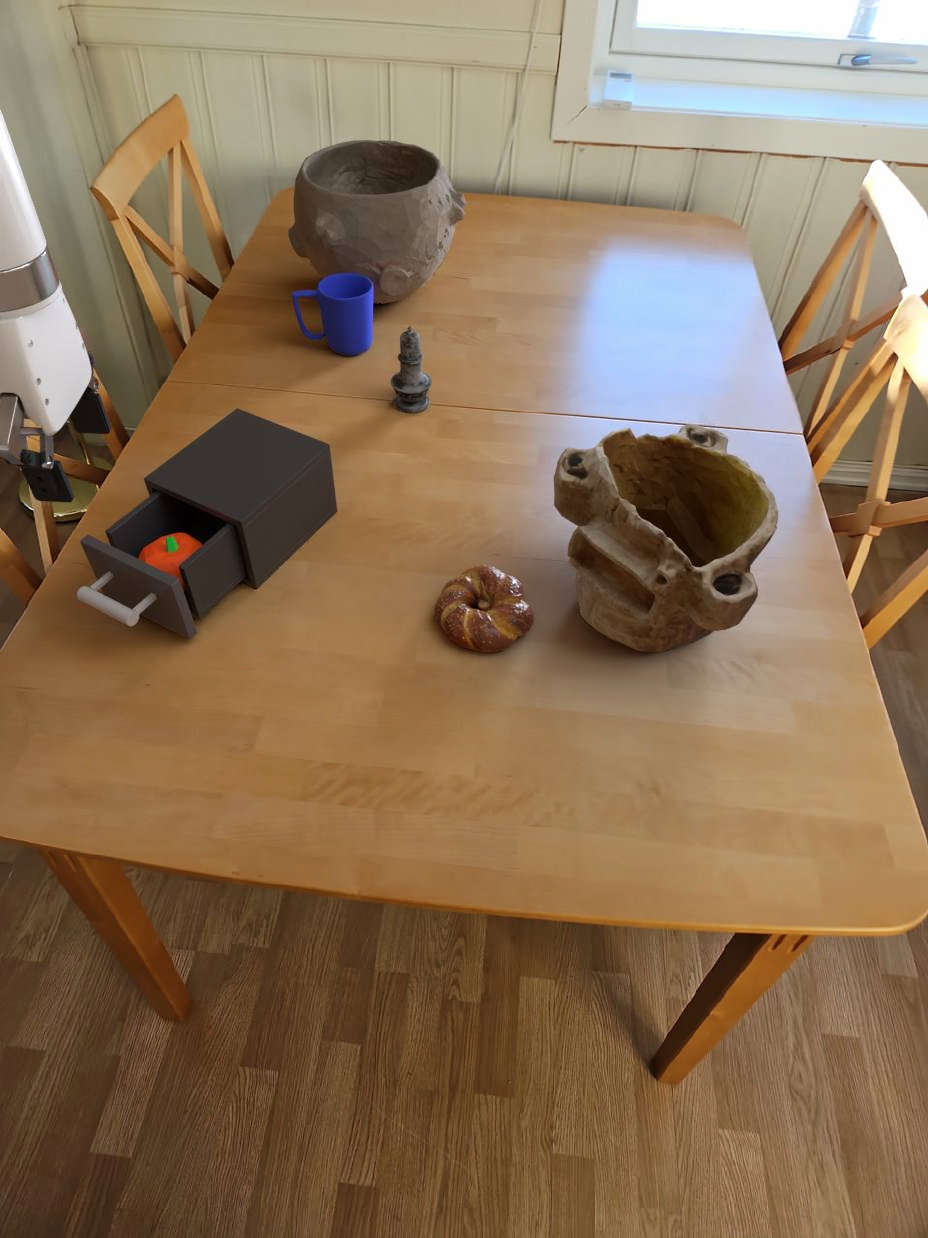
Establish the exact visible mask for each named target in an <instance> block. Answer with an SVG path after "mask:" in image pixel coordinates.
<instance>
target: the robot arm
mask: <svg viewBox="0 0 928 1238" xmlns="http://www.w3.org/2000/svg"><path fill="white" fill-rule="evenodd" d="M29 190H30V189H29V187H28V185H27V181H26V179H25V176H24V173H23V170H22V167H21V163H20V161H19V158H18V156H17V153H16V149H15V147H14V143H13V141H12V138H11V135H10V132H9V129H8V126H7V124H6V121H5V117H4V114H3V112H2V110H1V108H0V457H1V458H2V459H4V460H5V463H6V464H7V465H10V466H14V467H15V468H17V469H18V468H20V469H21V472H22V474H23V476H24V478H25V481H26V483H27V485H28V487H29V489H30V491H31V493H32V495H33V498H34V499H35V500H36V501H38V502H51V503H72V502H73V500H74V499H75V493H74V491H73V489H72V487H71V484H70V482H69V479H68V476H67V475H66V472H65V469H64V467H63V465H62V462H61V461H60V460H57V459H55V443H54V442H55V441H54V440H55V439H54V435H56V434H57V433H58V432H59V431H60V430H61V429H62V428H63V426H64V425H65V424H66V422H67V420H68V419H69V418H70V420H71V422H72V425H73V427H74V428H73V429H74V430H75V432H76V433H79V434H92V435H93V434H95V435H109V434H110V433H111V431H112V425H111V423H110V420H109V417H108V414H107V411H106V408H105V405H104V402H103V400H102V396H101V393H99V391H100V382H99V379H98V378H97V377H95V376H94V372H95V371H94V369H95V366H94V365H95V364H96V363H95V362H96V361H95V360H94V359H95V357H94V356H93V354H92V353H90V352H91V345H90V336H89V335H90V334H89V331H88V329H87V328H85V327H79V326H78V323H77V321H76V319H75V316H74V314H73V311H72V309H71V306H70V305H69V302H68V300H67V298H66V296H65V294H64V292H63V287H62V283H61V280H60V277H59V275H58V271H57V269H56V266H55V263H54V260H53V258H52V254H51V250H50V249H49V245H48V243H47V239H46V237H45V234H44V231H43V227H42V225H41V222H40V219H39V217H38V214H37V210H36V207H35V205H34V202H33V198H32V196H31V194H30V191H29ZM25 420H31V421H32V422H33V423H34V424H35V427H34V426H25ZM27 436H29V437H31V436H32V437H39V451H36V450H32V449H27V447H28V446H27Z"/></svg>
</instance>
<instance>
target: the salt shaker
mask: <svg viewBox="0 0 928 1238" xmlns="http://www.w3.org/2000/svg"><path fill="white" fill-rule="evenodd" d="M421 345H422V344H421V335H420V333H418V332H417V331H415V330H413V327H412V326H411V325H409V326H408V327H407V330H405V331H403V332H402V333H401V334H400V336H399V351H400V352H399V353H398V355H397V360H398V361H399V366H400V367H399V368H400V369H399V371H398V372H396V373H394V374H393V375H392V377H390V385H391V387H392V389H393V391H394V393H395V395H396V396H395V397H394V398H393V405H394V406H393V407H394V408H396V410H398V411H400V412H402V413H406V414H418V413H422V412H424V411H425V410H427V409H428V408H429V407H430V405H431V400H430V398H429V396H427V395H428V394H429V391H430V388H431V386H432V384H433V379H432V377H431V376H430V375H429V374H428V373H426V372H425V371H423V370H422V361H423V360H424V354H423V353H422V352H421V351H422V349H421V347H422V346H421Z"/></svg>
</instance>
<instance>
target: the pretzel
mask: <svg viewBox="0 0 928 1238" xmlns="http://www.w3.org/2000/svg"><path fill="white" fill-rule="evenodd" d="M524 595H525V593H524V587H523V585H522V583H521V581H520V580H518V579H517V578H516V577H515V576H512V575H510V574H507V573H504V572H502V571H501V570H500V569H498V568H496V567H494V566H492V565H487V564H479V565H474V566H471V567H469V568H467V569H466V570H465V571H463V572H462V573H460V575H458V576H456V577H454V578H452V579H451V580H449V581H448V582H446V583H445V585H444V586H443V589H442V590H441V592H440V597H438V599H437V600H436V602H435V605H434V617H435V618H436V622H437V623H438V624H439V626H440V627H441V628H442V630H444V632H445V634H446V636H447V638H449V640H451V642H452V643H454V644H456V645H458V646H459V647H463V648H465V649H469V650H475V651H477V652H481V653H498V652H502V651H505V650H507V649H509V648H510V646H511V645H513V643H514V642H515V641H516V640H517V638H518V637H523V636H524V635H526V634H527V633H528V632H529V631H530V630H531V629H532V627H533V625H534V623H535V614H534V611H533V609H532V607H531V605H530V604H529V603H527V602H525V601H524V600H523V598H524ZM474 607H476V608H474Z"/></svg>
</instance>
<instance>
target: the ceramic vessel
mask: <svg viewBox="0 0 928 1238" xmlns="http://www.w3.org/2000/svg"><path fill="white" fill-rule="evenodd" d="M728 444H729V438H728V437H727V435H725V434H724V433H722V432H721V431H720V430H718V429H714V428H708V427H704V426H702V425H698V424H694V423H688V424H685V425H681V427H680V429H679V430H678V432H676V433H671V434H668V435H666V436H657V435H651V434H650V433H644V434H642V435H641V434H640V435H639V436H636V435H635V433H633V431H632V429H631V427H624V428H620V429H617V430H612V431H611V432H609V433H608V434H607V435H605V436H604V437H602V438H601V440H600V441H599V442H598V443H597V444H596V446H594V447H589V448H579V449H578V448H575V447H566V448H565V449H564V450H563V452H561V454H560V456H559V458H558V459H557V462H556V468H555V471H554V475H553V491H554V492H553V506H554V508H555V509H556V511H557V512H558V514H559V515H560V516H561V517H562V518H564V519H565V520H567V521H569V522H570V523H572V524H574V525H575V526H577V527H576V528H575V529H574V531H573V532H572V534H571V536H570V539H569V542H568V544H567V557H568V563H567V564H569V565H570V566H571V567H573V568H574V569H575V570H576V574H575V575H576V576H575V581H574V592H575V596H576V601H577V602H578V605H579V607H578V608H579V612H580V616H581V617H582V618H583V619H584V620H585V622H586V623H588V624H589V626H591V627H593V629H595V630H596V631H597V632H599V633H600V634H602V635H604V636H605V637H607V638H608V639H610V640H612V641H615V642H617V643H620V644H623V645H625V646H626V647H628V648H630V649H632V650H634V651H640V652H647V653H656V654H657V653H661V652H668V651H671V650H675V649H679V648H680V647H683V646H686V645H688V644H693V643H696V642H698V641H699V640H701V639H704V638H706V637H708V636H710V635H711V634H712V633H714V632H720V631H727V630H729V629H732V628H733V627H736V626H738V625H740V624H741V622H742V621H743V620H744V618H745V617H746V616H747V614H748V613H749V611H750V610H751V608H752V607H753V606H754V604H755V603H756V601H757V599H758V596H759V595H758V594H759V588H758V584H757V581H756V579H755V576H754V574H753V573H752V571H751V567H752V565H753V564H754V562H755V561H756V559H757V558H758V557H759V555H760V554H761V553H762V552H763V550H765V548H766V547H767V546H768V544H769V543H770V541H771V540H772V538H773V537H774V535H775V532H776V530H777V529H778V522H779V509H778V506H777V501H776V497H775V494H774V492H772V491H771V490H770V488H769V486H768V484H767V483H766V481H765V478H764V477H763V476H762V474H761V473H759V472H758V471H757V470H755V469H754V468H753V467H752V466H751V465H750V464H749V462H748V461H747V460H745V459H743V458H742V457H740V456H738V455H736V454H731V453H728V450H727V449H728Z"/></svg>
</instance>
